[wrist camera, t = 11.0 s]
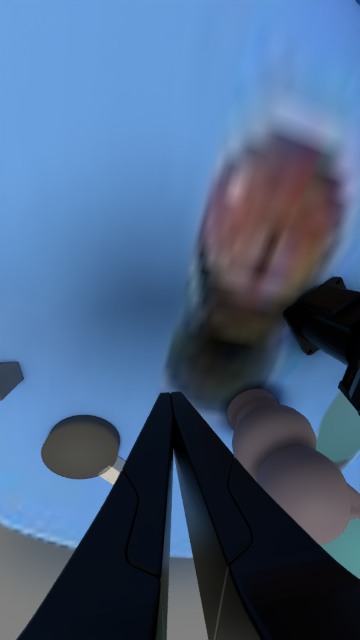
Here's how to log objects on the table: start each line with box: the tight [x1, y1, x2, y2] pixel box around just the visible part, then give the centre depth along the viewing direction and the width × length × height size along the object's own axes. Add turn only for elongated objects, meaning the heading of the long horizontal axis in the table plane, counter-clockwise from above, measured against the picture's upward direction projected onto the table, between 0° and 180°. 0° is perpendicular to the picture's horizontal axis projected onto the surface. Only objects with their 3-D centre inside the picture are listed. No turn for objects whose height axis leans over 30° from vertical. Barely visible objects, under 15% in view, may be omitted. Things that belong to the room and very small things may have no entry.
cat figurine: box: [227, 389, 360, 545], centre depth 19 cm, size 8×8×12 cm
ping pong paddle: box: [41, 415, 125, 485], centre depth 23 cm, size 10×8×2 cm
